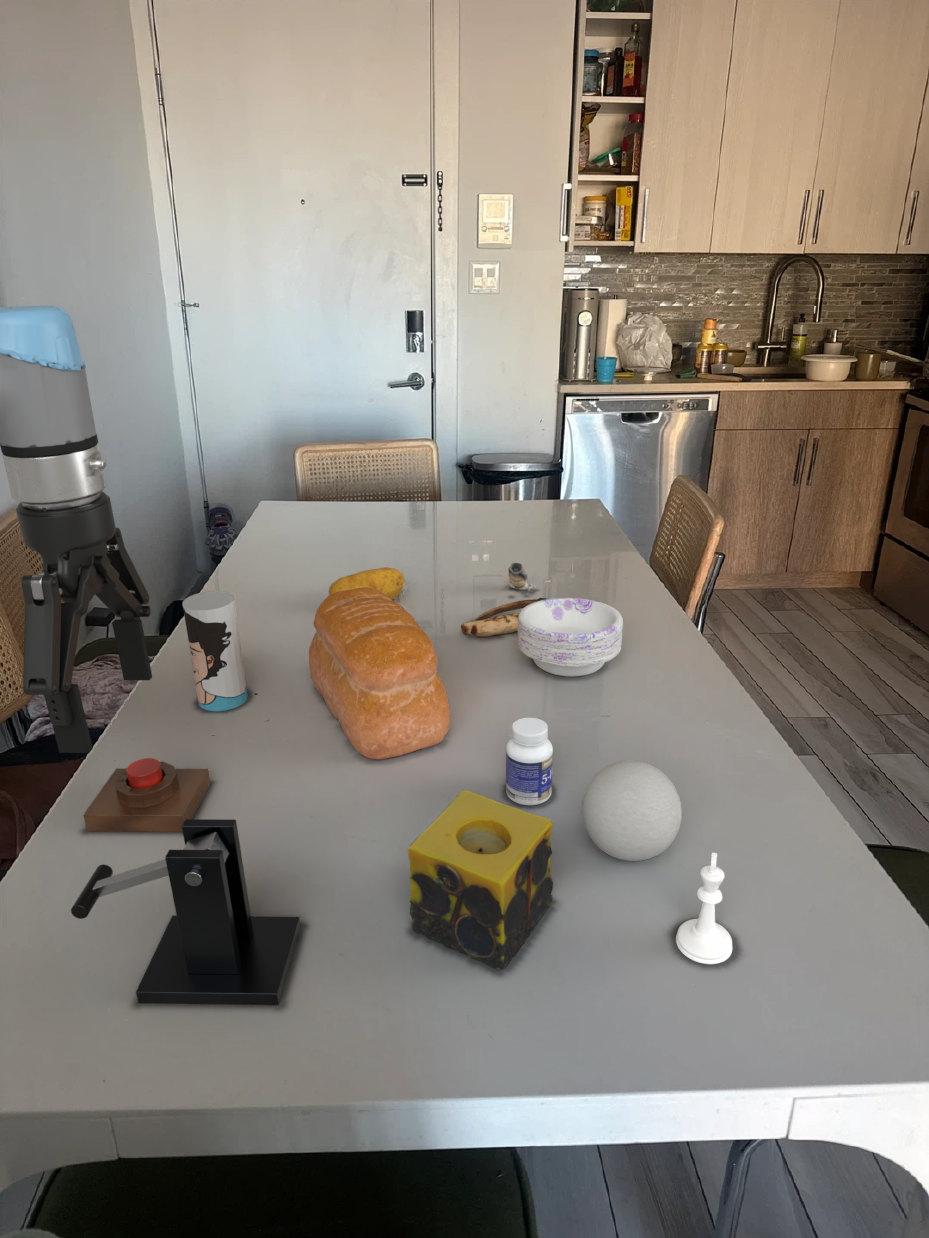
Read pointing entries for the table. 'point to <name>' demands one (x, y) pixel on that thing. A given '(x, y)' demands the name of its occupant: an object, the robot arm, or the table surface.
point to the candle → (481, 878)
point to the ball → (631, 810)
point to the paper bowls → (570, 635)
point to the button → (144, 773)
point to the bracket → (217, 931)
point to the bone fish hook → (496, 620)
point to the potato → (372, 581)
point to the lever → (134, 875)
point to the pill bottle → (529, 762)
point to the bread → (378, 674)
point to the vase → (518, 577)
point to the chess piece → (706, 923)
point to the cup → (215, 650)
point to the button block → (148, 802)
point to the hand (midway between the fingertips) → (109, 712)
